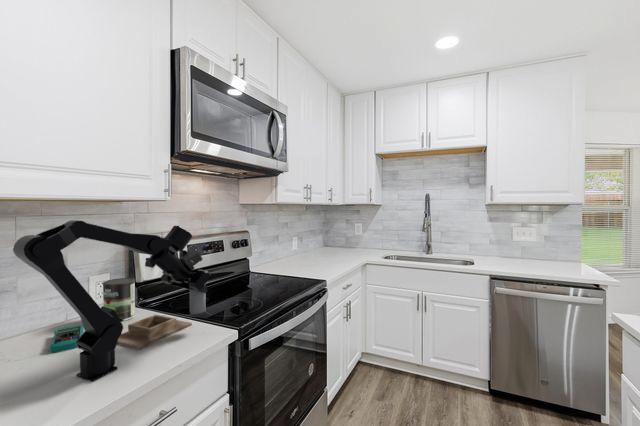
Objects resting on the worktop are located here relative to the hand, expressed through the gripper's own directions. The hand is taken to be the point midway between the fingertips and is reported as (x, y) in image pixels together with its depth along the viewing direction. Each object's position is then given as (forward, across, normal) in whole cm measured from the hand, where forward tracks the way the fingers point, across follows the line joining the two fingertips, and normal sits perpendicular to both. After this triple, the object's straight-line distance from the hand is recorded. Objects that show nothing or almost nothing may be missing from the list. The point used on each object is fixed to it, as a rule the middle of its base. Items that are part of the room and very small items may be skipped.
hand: (201, 290), depth 106 cm
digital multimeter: (-9, +29, +30) cm, 42 cm away
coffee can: (+4, +36, +16) cm, 40 cm away
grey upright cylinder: (+4, 0, +6) cm, 7 cm away
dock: (+2, +12, +17) cm, 21 cm away
